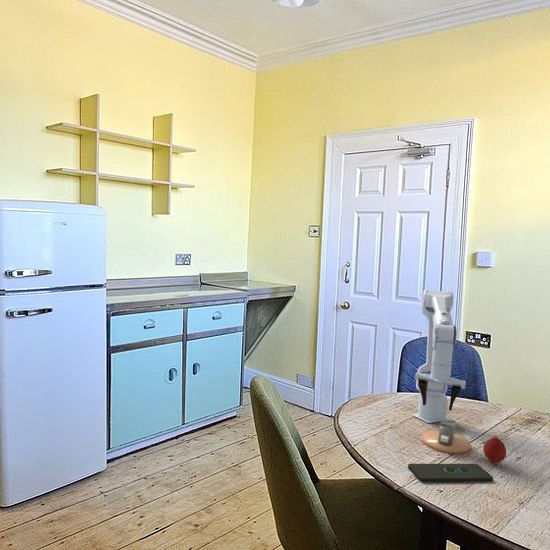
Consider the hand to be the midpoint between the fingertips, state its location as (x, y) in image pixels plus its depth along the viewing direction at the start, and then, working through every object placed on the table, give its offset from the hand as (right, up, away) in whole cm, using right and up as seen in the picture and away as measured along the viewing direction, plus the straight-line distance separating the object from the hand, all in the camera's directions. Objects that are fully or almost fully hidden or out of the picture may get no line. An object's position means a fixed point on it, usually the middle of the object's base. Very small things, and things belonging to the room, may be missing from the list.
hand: (437, 406), depth 157 cm
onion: (+11, -12, -15) cm, 22 cm away
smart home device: (-4, -12, -24) cm, 27 cm away
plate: (+2, -10, -3) cm, 11 cm away
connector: (+1, -9, -4) cm, 10 cm away
